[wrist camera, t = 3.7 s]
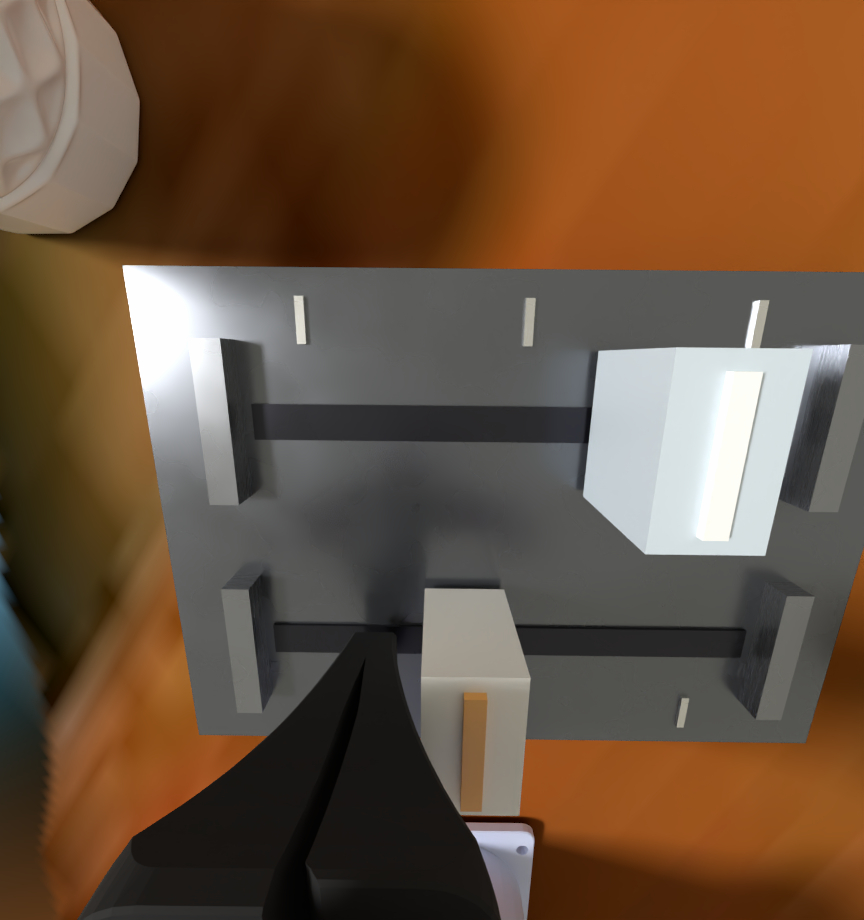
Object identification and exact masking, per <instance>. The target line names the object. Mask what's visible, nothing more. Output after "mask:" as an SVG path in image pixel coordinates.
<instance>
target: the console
mask: <svg viewBox="0 0 864 920" xmlns="http://www.w3.org/2000/svg"><path fill="white" fill-rule="evenodd" d="M122 266H123V272H124V278H125V284H126V290H127V296H128V302H129V308H130V314H131V321H132V327H133V333H134V339H135V345H136V351H137V357H138V363H139V369H140V376H141V382H142V388H143V394H144V400H145V406H146V412H147V418H148V424H149V431H150V437H151V443H152V449H153V455H154V461H155V467H156V473H157V479H158V486H159V492H160V498H161V504H162V510H163V516H164V522H165V528H166V534H167V541H168V547H169V553H170V559H171V565H172V571H173V577H174V583H175V589H176V596H177V602H178V608H179V614H180V620H181V626H182V632H183V638H184V644H185V651H186V657H187V663H188V669H189V675H190V681H191V687H192V693H193V699H194V706H195V712H196V718H197V724H198V730H199V735H251V736H269V735H270V734H271V733H272V732H273V731H274V730H275V729H276V728H277V727H278V726H279V725H280V724H281V723H282V722H283V721H284V720H285V719H286V718H287V717H288V715H289V714H290V713H291V712H292V711H293V710H294V709H295V708H296V707H297V706H298V705H299V703H300V702H301V701H302V700H303V699H304V698H305V697H306V695H307V694H308V693H309V692H310V691H311V690H312V688H313V687H314V686H315V685H316V684H317V682H318V681H319V680H320V679H321V677H322V676H323V675H324V673H325V672H326V671H327V670H328V668H329V667H330V666H331V664H332V663H333V662H334V660H335V659H336V658H337V656H338V655H339V653H340V652H341V651H342V649H343V648H344V646H345V645H346V643H347V642H348V640H349V639H350V637H351V636H352V635H353V634H354V633H355V632H388V633H394V634H395V635H396V636H397V664H398V669H399V674H400V678H401V683H402V687H403V691H404V694H405V698H406V701H407V704H408V707H409V711H410V714H411V716H412V719H413V722H414V725H415V727H416V730H417V732H418V735H419V737H420V738H421V666H422V643H423V619H424V595H425V588H432V589H504V591H505V594H506V598H507V601H508V604H509V608H510V611H511V614H512V618H513V621H514V624H515V628H516V631H517V634H518V638H519V641H520V644H521V648H522V651H523V654H524V658H525V661H526V664H527V668H528V671H529V674H530V678H531V680H530V692H529V704H528V716H527V728H526V739H546V740H620V741H693V742H767V743H806V739H807V736H808V733H809V729H810V726H811V723H812V719H813V716H814V712H815V709H816V706H817V702H818V699H819V696H820V692H821V689H822V685H823V682H824V679H825V675H826V672H827V669H828V665H829V662H830V659H831V655H832V652H833V648H834V645H835V642H836V638H837V635H838V632H839V628H840V625H841V621H842V618H843V615H844V611H845V608H846V605H847V601H848V598H849V594H850V591H851V588H852V584H853V581H854V578H855V574H856V571H857V567H858V564H859V561H860V557H861V554H862V551H863V547H864V272H768V271H662V270H555V269H448V268H342V267H235V266H129V265H122ZM674 347H688V348H788V349H813V352H812V357H811V361H810V365H809V370H808V374H807V378H806V382H805V387H804V391H803V395H802V400H801V404H800V408H799V412H798V417H797V421H796V425H795V430H794V434H793V438H792V443H791V447H790V451H789V455H788V460H787V464H786V468H785V473H784V477H783V481H782V486H781V490H780V494H779V498H778V503H777V507H776V511H775V516H774V520H773V524H772V529H771V533H770V537H769V541H768V546H767V550H766V554H765V556H742V555H658V554H644V553H643V552H642V551H641V550H640V549H639V548H638V547H637V546H636V545H635V544H634V543H632V542H631V541H630V540H629V539H628V538H627V537H626V536H625V535H624V534H623V533H622V532H621V531H620V530H619V529H617V528H616V527H615V526H614V525H613V524H612V523H611V522H610V521H609V520H608V519H607V518H606V517H605V516H603V515H602V514H601V513H600V512H599V511H598V510H597V509H596V508H595V507H594V506H593V505H592V504H591V503H590V502H588V501H587V500H586V499H585V498H584V497H583V491H584V482H585V473H586V463H587V454H588V445H589V435H590V426H591V417H592V407H593V398H594V389H595V379H596V370H597V361H598V351H606V350H629V349H651V348H674Z"/></svg>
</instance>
